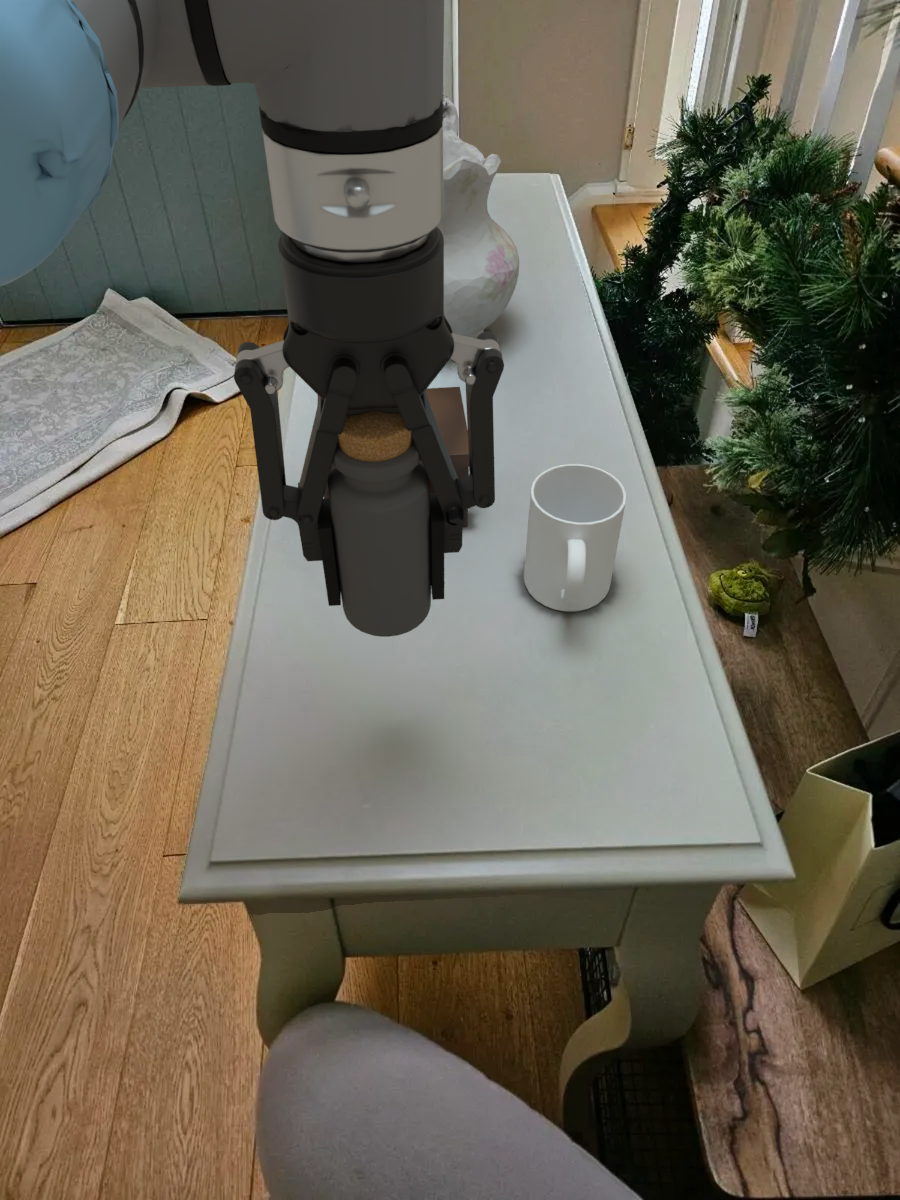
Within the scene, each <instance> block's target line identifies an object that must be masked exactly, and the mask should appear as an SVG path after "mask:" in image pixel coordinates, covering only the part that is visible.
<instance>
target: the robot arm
mask: <svg viewBox="0 0 900 1200" xmlns="http://www.w3.org/2000/svg"><path fill="white" fill-rule="evenodd" d="M444 27H445V0H0V287H3V286H6V285H9V284H11V283H13V282H14V281H16V280H18V279H20V278H22V277H23V276H26V275H27V274H28V273H30V272H32V271H33V270H35V268H37V267H39V266H41V265H42V263H44V261H46V259H48V257H49V256H51V255H52V254H53V253H54V251H55V250H56V249H57V248H58V247H59V246H60V244H61V243H62V241H63V240H64V239H65V237H67V235H68V234H69V233H70V232H71V230H72V228H73V227H74V226H75V224H76V223H77V222H78V220H79V219H80V218H81V217H82V216H83V215H84V214H85V213H86V212H87V211H88V210H89V209H90V208H91V206H92V205H93V203H94V202H95V201H96V200H97V198H98V197H99V195H100V193H101V190H102V186H103V185H104V183H105V181H106V180H107V178H108V177H109V176H110V172H111V169H112V164H113V163H112V162H113V158H114V157H113V156H114V149H115V145H116V144H115V143H116V142H117V140H118V139H119V131H120V128H121V126H122V123H123V121H124V120H125V118H126V117H127V116H128V114H129V112H130V111H131V108H132V107H133V105H134V103H135V101H136V99H137V97H138V94H139V93H140V90H141V89H150V88H173V87H176V88H177V87H204V86H205V87H206V86H212V87H220V86H221V87H223V86H231V85H232V84H253V85H254V88H255V92H256V96H257V100H258V104H259V107H258V110H259V118H260V125H261V126H260V127H261V131H262V137H263V145H264V146H263V147H264V153H265V160H266V166H267V167H266V168H267V174H268V182H269V191H270V198H271V205H272V210H273V218H274V219H273V220H274V222H275V224H276V225H277V227H278V228H279V230H280V231H281V232H282V233H281V235H280V236H279V239H278V243H277V244H278V247H277V248H278V253H279V260H280V261H279V262H280V268H281V274H282V275H281V276H282V283H283V290H284V297H285V303H286V309H287V319H288V323H287V326H286V328H285V330H284V332H283V337H282V340H280V341H277V342H274V343H270V344H267V345H264V346H261V347H260V346H259V345H258V344H257V343H255V342H252V341H247V342H246V341H245V342H243V343H241V344H240V345H239V346H238V348H237V354H236V359H235V365H234V373H233V379H234V382H235V384H236V386H237V388H238V390H239V392H240V394H241V395H242V397H243V398H244V400H245V402H246V404H247V405H248V408H249V410H250V418H251V427H252V434H253V435H252V437H253V442H254V444H253V445H254V451H255V460H256V467H257V476H258V484H259V492H260V501H261V508H262V514H263V516H264V517H265V518H266V519H267V520H271V521H278V520H281V519H282V518H283V517H284V518H288V519H291V520H293V521H294V522H295V523H296V524H297V526H298V530H299V531H298V532H299V537H300V543H301V549H302V556H303V557H304V559H305V560H306V561H307V562H322V567H323V568H322V569H323V574H324V581H325V583H324V584H325V589H326V596H327V602H328V603H327V604H328V607H335V606H341V605H342V597H341V590H340V583H339V575H338V567H337V559H336V552H335V544H334V536H333V527H332V519H331V511H330V502H329V498H327V499H324V493H325V489H326V485H327V482H328V478H329V474H330V470H331V466H332V463H333V459H334V455H335V451H336V447H337V443H338V440H339V437H338V434H340V435H341V433H342V430H343V426H344V423H345V419H346V416H349V415H360V414H364V413H368V412H371V411H377V412H382V413H388V414H392V413H400V414H401V416H402V418H403V421H404V423H405V426H406V428H407V430H408V431H411V436H412V438H413V441H414V443H415V446H416V448H417V450H418V453H419V455H420V458H421V460H422V463H423V465H424V467H425V470H426V472H427V475H428V477H429V479H430V482H431V484H432V487H433V489H434V492H435V493H430V542H431V600H445V554H454V553H460V552H461V550H462V547H463V531H464V530H463V528H464V527H463V523H464V521H465V515H464V512H465V511H466V510H467V509H468V510H469V509H471V508H473V507H478V508H480V509H488V508H490V507H492V506H493V505H494V503H495V500H496V485H495V484H496V483H495V482H496V481H495V479H496V477H495V439H494V438H495V437H494V436H495V435H494V431H495V430H494V395H495V393H496V390H497V387H498V385H499V382H500V380H501V377H502V374H503V371H504V369H505V362H504V357H503V354H502V350H501V346H500V343H499V342H500V341H499V339H498V336H497V334H495V333H494V332H492V331H485V332H483V333H481V334H480V335H478V337H477V338H472V337H468V336H464V335H459V334H455V333H452V329H451V326H450V324H449V323H448V321H447V320H446V318H445V315H444V237H443V234H442V232H441V231H440V229H439V228H438V227H437V226H438V225H439V224H440V222H441V220H442V219H443V211H444V198H443V101H444V99H443V95H444V55H445V54H444V45H445V42H444V41H445V40H444V39H445V28H444ZM449 361H453V363H455V365H456V371H457V375H458V378H459V380H460V381H462V382H464V383H465V400H466V401H465V402H466V404H465V405H466V424H467V430H468V447H469V474H468V476H465V477H462V478H459V479H458V477H457V474H456V472H455V469H454V466H453V464H452V461H451V459H450V456H449V453H448V451H447V448H446V445H445V443H444V440H443V438H442V435H441V432H440V430H439V427H438V424H437V422H436V419H435V417H434V414H433V411H432V409H431V406H430V403H429V401H428V398H427V394H426V389H427V388H429V387H430V385H431V384H432V383H433V381H434V380H435V379H436V378H437V376H439V374H440V373H441V371H442V370H443V368H444V367H445V366H446V365H447V364H448V362H449ZM288 368H290V369H291V370H292V371H293V372H294V373H295V374H296V375H297V376H298V377H299V378H300V379H301V380H302V381H304V383H305V384H306V385H307V386H308V387H309V388H310V389H311V390H312V391H314V393H315V394H316V395H317V396H318V395H319V400H318V399H317V404H318V406H316V410H315V414H314V420H313V424H312V428H311V432H310V437H309V441H308V445H307V448H306V449H307V450H306V453H305V458H304V461H303V466H302V470H301V475H300V479H299V482H297V486H294V485H288V484H287V480H286V467H285V459H284V447H283V438H282V437H283V435H282V427H281V416H280V405H279V394H278V391H279V390H281V389H282V387H283V385H284V375H285V374H284V371H285V370H286V369H288Z"/></svg>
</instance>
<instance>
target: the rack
mask: <svg viewBox="0 0 900 1200" xmlns="http://www.w3.org/2000/svg"><path fill="white" fill-rule="evenodd" d="M426 394H427V398H428V401H429V403H430V406H431V409H432V411H433V414H434V417H435V419H436V422H437V424H438V427H439V430H440V432H441V435H442V438H443V440H444V443H445V445H446V448H447V451H448V453H449V456H450V459H451V461H452V464H453V466H454V469H455V472H456V474H457V477H458V479H459V478H462V477H465V476H468V475H469V473H470V468H469V447H468V426H467V417H466V413H465V408H464V402H463V397H462V392H461V386H447V387H432V388H431V387H430V388H429V387H428V388H427V389H426ZM318 400H319V395H318V394H317V401H318ZM316 404H317V406H318V403H316ZM317 406H316V407H317ZM420 462H421V463H422V460H420ZM422 464H423V463H422ZM333 467H334V464H333V463H332V466H331V470H332V469H333ZM331 470H330V472H331ZM429 492H430V493H435V492H434V489H433V487H432V484H431V482H430V479H429ZM327 498H329V494H328V482H327V485H326V489H325V493H324V497H323V499H327ZM464 515H465V521H464V523H463V528H466V527H468V526H469V509H467V510H466V511H465V512H464Z"/></svg>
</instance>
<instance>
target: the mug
mask: <svg viewBox="0 0 900 1200" xmlns="http://www.w3.org/2000/svg"><path fill="white" fill-rule="evenodd" d="M626 502H627V493H626V489H625V487H624V485H623V484H622V482H621V481H620V480H619V479H618V478H617V477H615V476H614V475H613V474H612V473H610V472H609V471H606V470H604V469H603V468H599V467H596V466H593V465H589V464H583V463H565V464H561V465H555V466H552V467H550V468H548V469H545V470H543V472H541V473H539V474H538V475H537V476H536V478H535V479H534V480H533V482H532V484H531V487H530V494H529V507H528V518H527V519H528V520H527V531H526V543H525V557H524V569H523V580H524V581H523V583H524V585H525V587H526V589H527V591H528V593H529V594H530V596H532V598H533V599H534V600H535V601H536V602H538V603H540V604H541V605H543V606H545V607H547V608H550V609H552V610H555V611H560V612H581V611H585V610H589V609H591V608H593V607H595V606H597V605H598V604H599V603H600V602H602V601H603V600H604V599H605V598H606V596H607V595H608V593H609V591H610V589H611V583H612V578H613V573H614V567H615V561H616V558H617V557H616V555H617V552H618V551H617V550H618V546H619V542H620V541H619V540H620V535H621V530H622V524H623V519H624V513H625V508H626Z"/></svg>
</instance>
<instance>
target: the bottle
mask: <svg viewBox="0 0 900 1200" xmlns="http://www.w3.org/2000/svg"><path fill="white" fill-rule="evenodd" d="M338 437H339V440H338V443H337V447H336V451H335V455H334V459H333V464H334V467H333V469H332V470H331V472H330V474H329V478H328V494H329V502H330V511H331V519H332V527H333V536H334V544H335V552H336V559H337V567H338V575H339V583H340V590H341V605H342V609H343V613H344V616H345V618H346V619H347V621H348V623H350V624H351V626H352V627H354V628H355V629H357V630H359V631H360V632H361V633H364V634H367V635H370V636H373V637H381V638H382V637H383V638H389V637H397V636H400V635H403V634H407V633H409V632H411V631H413V630H415V629H416V628H418V627H419V626H420V625H421V624H423V622H424V621H425V620H426V618H427V617H428V615H429V613H430V610H431V605H432V589H431V542H430V492H429V477H428V475H427V472H426V470H425V467H424V465H423V464H422V463H421V462H420V460H421V458H420V455H419V453H418V450H417V448H416V446H415V443H414V441H413V438H412V436H411V431H408V430H407V428H406V426H405V423H404V421H403V418H402V416H401V414H400V413H392V414H388V413H382V412H377V411H371V412H368V413H364V414H360V415H349V416H346V419H345V423H344V426H343V430H342V433H341V435H340V434H338Z"/></svg>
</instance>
